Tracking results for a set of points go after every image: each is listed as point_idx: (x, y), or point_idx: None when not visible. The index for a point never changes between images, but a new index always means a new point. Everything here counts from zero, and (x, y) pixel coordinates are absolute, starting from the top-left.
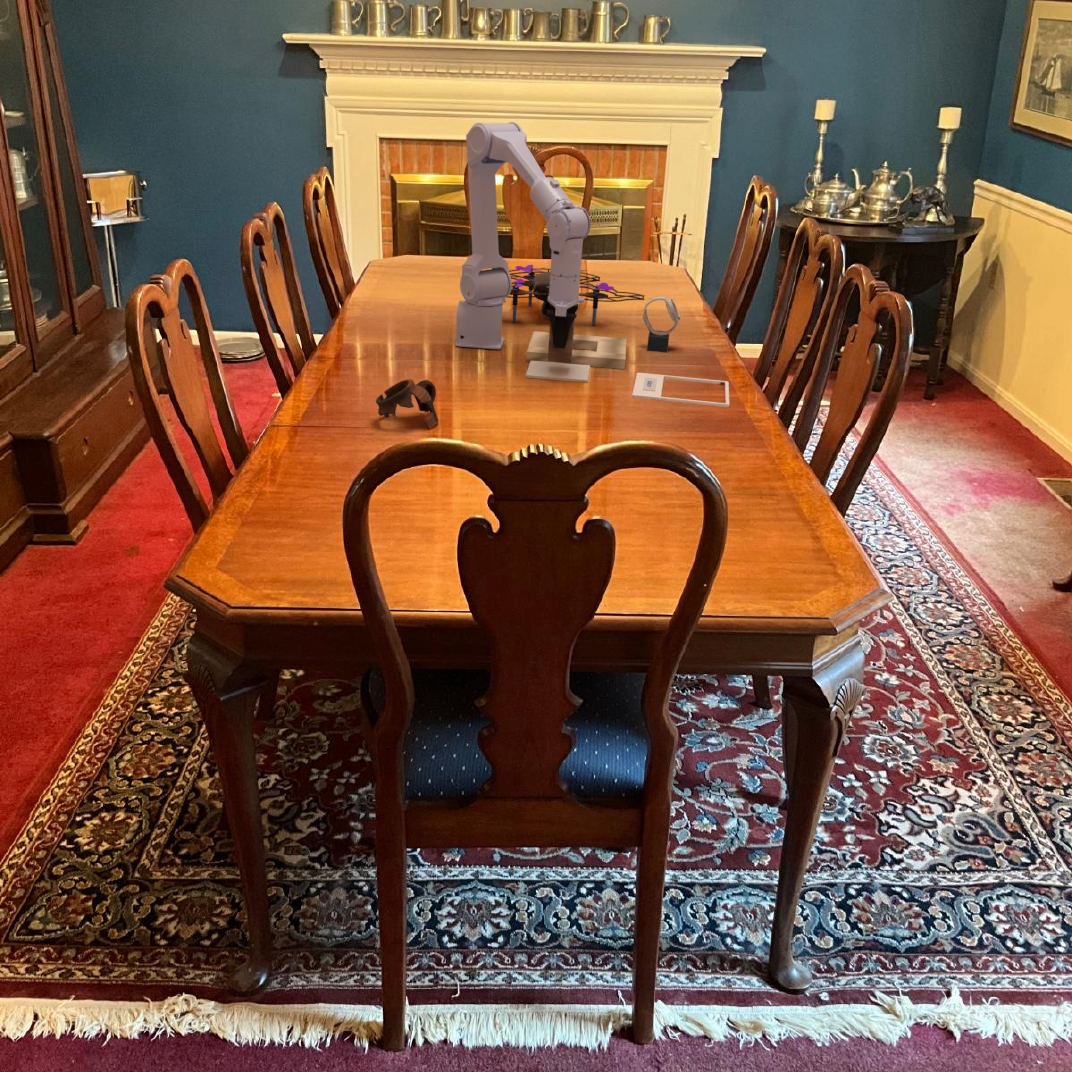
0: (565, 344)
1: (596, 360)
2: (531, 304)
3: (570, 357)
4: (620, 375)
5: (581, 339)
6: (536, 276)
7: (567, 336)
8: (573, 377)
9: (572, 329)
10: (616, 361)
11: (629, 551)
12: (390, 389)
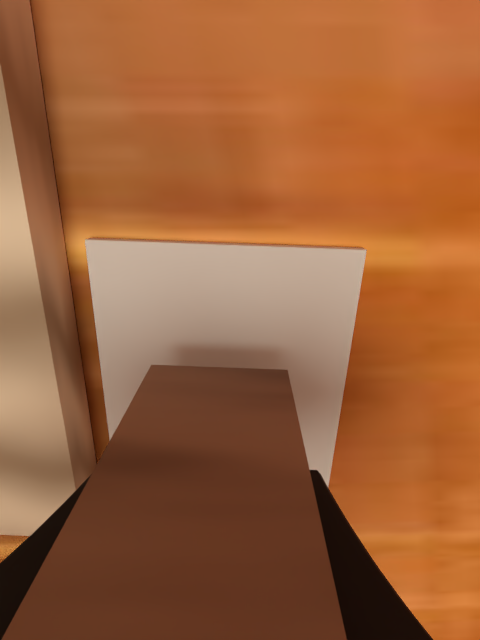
0: (330, 493)
1: (38, 204)
2: None
3: (289, 390)
4: (177, 33)
5: None
6: None
7: (366, 553)
8: (328, 323)
9: (330, 588)
10: (11, 51)
11: None
12: None
